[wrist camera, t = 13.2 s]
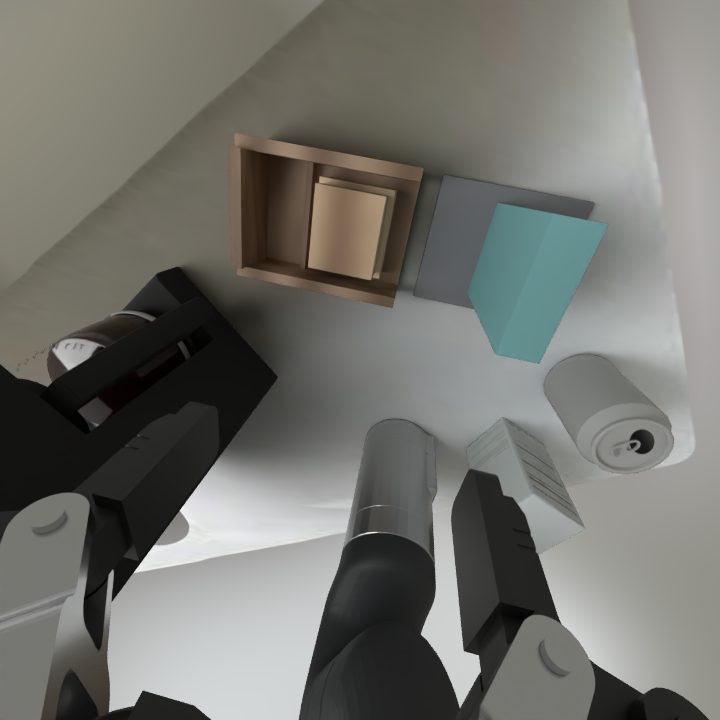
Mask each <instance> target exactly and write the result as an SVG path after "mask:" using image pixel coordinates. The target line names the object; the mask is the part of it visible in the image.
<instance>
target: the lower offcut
mask: <svg viewBox="0 0 720 720" xmlns="http://www.w3.org/2000/svg"><path fill="white" fill-rule="evenodd" d="M319 183H324V184H329V185H335V186H340V187H345V188H350V189H356V190H361V191H366V192H371V193H377V194H382V195H387V196H389V199H388V204H387V209H386V215H385V220H384V225H383V231H382V236H381V242H380V247H379V252H378V258H377V263H376V268H375V273H374V275H373V277H372V278H377V279H379V277H380V274H381V272H382V267H383V262H384V257H385V252H386V247H387V242H388V237H389V232H390V226H391V221H392V216H393V211H394V206H395V201H396V196H397V191H398V190H392V189H387V188H382V187H377V186H371V185H366V184H361V183H356V182H350V181H345V180H340V179H335V178H329V177H321V176H320V178H319Z"/></svg>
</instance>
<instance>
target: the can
mask: <svg viewBox="0 0 720 720" xmlns="http://www.w3.org/2000/svg"><path fill="white" fill-rule="evenodd" d="M544 393H545V395H546V397H547V399H548V400H549V402H550V404H551V405H552V407H553V409H554V410H555V412H556V413H557V415H558V417H559V418H560V420H561V422H562V423H563V425H564V427H565V428H566V430H567V432H568V433H569V435H570V437H571V438H572V440H573V442H574V443H575V445H576V447H577V448H578V450H579V451H580V453H581V455H582V456H583V457H584V458H586V459H587V460H588V461H590V462H592V463H594V464H597V465H598V466H599V467H600V468H602V469H603V470H606V471H609V472H612V473H619V474H631V473H639V472H642V471H646V470H649V469H651V468H653V467H655V466H657V465H658V464H660V463H661V462H662V461H663V460H664V459H666V458H667V457H668V456H669V454H670V452H671V450H672V449H673V445H674V437H673V435H672V433H671V423H670V421H669V419H668V417H667V415H665V414H664V413H663V412H662V411H661V410H660V409H659V408H658V407H657V406H656V405H655V404H654V403H652V402H651V401H650V400H649V399H648V398H647V397H646V396H645V395H644V394H643V393H642V392H641V391H639V390H638V389H637V388H636V387H635V386H634V385H633V384H632V383H631V382H630V381H629V380H628V379H626V378H625V377H624V376H623V375H622V374H621V373H620V372H619V371H618V370H617V369H616V368H615V367H614V366H612V365H611V364H610V363H609V362H608V361H607V360H605V359H604V358H601V357H598V356H595V355H578V356H573V357H570V358H568V359H565V360H563V361H561V362H560V363H558V364H557V365H556V366H554V367H553V368H552V369H551V371H550V372H549V373H548V375H547V376H546V379H545V382H544Z"/></svg>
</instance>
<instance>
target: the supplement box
mask: <svg viewBox="0 0 720 720" xmlns="http://www.w3.org/2000/svg"><path fill="white" fill-rule="evenodd" d="M466 451H467V456H468V461H469V467H470V469H475V470H479V471H483V472H487V473H491V474H496V475H497V476H498V478H499V480H500V484H501V488H502V491H503V495H505V496H509V497H513V498H514V500H515V501H516V502H517V504H518V505H519V507H520V508H521V510H522V511H523V512H524V514H525V516H526V519H527V522H528V525H529V528H530V531H531V537H533V540H534V544H535V547H536V553H538V555H539V554H541V553H542V552H544V551H546V550H548V549H550V548H551V547H553V546H555V545H557V544H559V543H561V542H562V541H564V540H566V539H568V538H570V537H571V536H573V535H575V534H577V533H579V532H581V531H582V530H584V529H585V527H584V525H583V523H582V521H581V519H580V517H579V515H578V513H577V511H576V508H575V507H574V504H573V503H572V501H571V499H570V497H569V495H568V493H567V491H566V489H565V487H564V485H563V482H562V480H561V479H560V476H559V474H558V472H557V470H556V468H555V466H554V464H553V462H552V460H551V458H550V456H549V454H548V452H547V450H546V448H545V446H544V445H543V444H541V443H540V442H539V441H537V440H536V439H534V438H533V437H531V436H530V435H528V434H527V433H525V432H524V431H522V430H521V429H519V428H518V427H517V426H515V425H514V424H512V423H511V422H509V421H508V420H506V419H505V418H501V419H500V420H499V421H498V422H497V423H496V424H494V425H493V426H492V427H491V428H490V429H489V430H487V431H486V432H485V433H484V434H483V435H482V436H480V437H479V438H478V439H477V440H476V441H475V442H473V443H472V444H471V445H470V446H469V447H467V448H466Z"/></svg>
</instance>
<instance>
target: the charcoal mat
mask: <svg viewBox="0 0 720 720" xmlns="http://www.w3.org/2000/svg"><path fill="white" fill-rule="evenodd" d="M497 203H502V204H507V205H512V206H518V207H523V208H528V209H533V210H538V211H543V212H549V213H554V214H559V215H564V216H569V217H574V218H579V219H584V220H587V219H588V216H589V214H590V212H591V210H592V208H593V206H594V203H593V202H588V201H582V200H577V199H571V198H566V197H561V196H555V195H550V194H544V193H539V192H534V191H528V190H523V189H518V188H512V187H507V186H501V185H496V184H491V183H485V182H480V181H474V180H469V179H464V178H458V177H453V176H448V175H443V179H442V183H441V187H440V191H439V195H438V199H437V203H436V207H435V211H434V215H433V219H432V223H431V227H430V231H429V235H428V239H427V243H426V247H425V251H424V255H423V259H422V263H421V267H420V271H419V275H418V279H417V283H416V287H415V291H414V295H413V296H415V297H420V298H424V299H429V300H434V301H439V302H444V303H448V304H453V305H458V306H463V307H467V308H472V309H474V307H473V304H472V302H471V300H470V298H469V296H468V294H467V292H468V289H469V286H470V283H471V280H472V277H473V274H474V271H475V269H476V266H477V263H478V260H479V257H480V254H481V251H482V248H483V245H484V242H485V239H486V236H487V233H488V230H489V227H490V224H491V221H492V218H493V215H494V212H495V209H496V206H497Z"/></svg>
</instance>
